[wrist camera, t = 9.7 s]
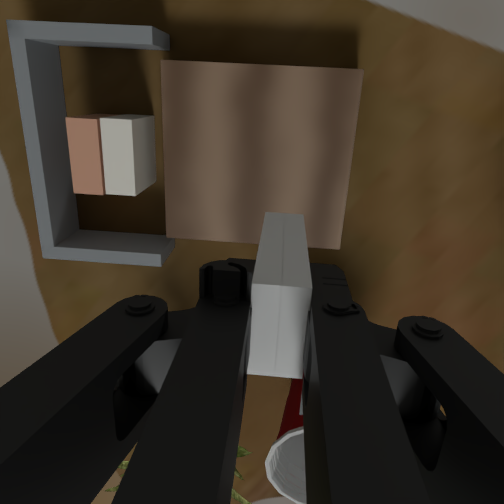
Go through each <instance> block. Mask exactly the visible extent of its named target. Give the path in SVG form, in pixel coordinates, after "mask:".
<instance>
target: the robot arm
mask: <svg viewBox="0 0 504 504" xmlns="http://www.w3.org/2000/svg"><path fill="white" fill-rule="evenodd" d="M303 368H304V377H303ZM247 374H254V375H265V376H276V377H287V378H297V379H302V377H303V386H302V395H301V404H300V413H299V415H303V429H304V453H305V478H306V502H307V504H504V374H503V373H502V372H500V371H499V370H498V369H497V368H496V367H495V366H494V365H493V364H492V363H490V362H489V361H488V360H487V359H486V358H485V357H484V356H483V355H481V354H480V353H479V352H478V351H477V350H476V349H475V348H474V347H473V346H471V345H470V344H469V343H468V342H467V341H466V340H465V339H464V338H462V337H461V336H460V335H459V334H458V333H457V332H456V331H455V330H454V329H452V328H451V327H449V326H448V325H446V324H445V323H442V322H440V321H438V320H436V319H434V318H431V317H429V318H428V317H426V316H409V317H404V318H402V319H401V320H399V322H398V326H397V330H396V329H392V328H388V327H384V326H380V325H377V324H374V323H372V322H370V321H368V319H367V317H366V314H365V311H364V310H363V308H362V307H361V306H360V305H359V304H357V303H355V302H354V301H353V300H352V297H351V294H350V291H349V287H348V284H347V281H346V278H345V275H344V272H343V271H342V270H341V269H340V268H339V267H337V266H336V265H331V264H318V263H309V256H308V248H307V240H306V232H305V224H304V216H303V214H289V213H274V212H265V217H264V222H263V227H262V233H261V238H260V243H259V248H258V253H257V258H256V260H249V259H236V258H229V259H227V260H219V261H213V262H209V263H206V264H204V265H203V266H202V267H201V268H199V300H198V303H197V305H196V307H195V308H191V309H188V310H181V311H171V312H168V307H167V303H166V302H165V301H164V300H163V299H161V298H158V297H155V296H148V295H141V296H139V295H135V296H133V297H129V298H125V299H123V300H121V301H119V302H117V303H116V304H114V305H113V306H112V307H110V308H109V309H107V310H106V311H105V312H103V313H102V314H101V315H99V316H98V317H96V318H95V319H94V320H92V321H91V322H90V323H88V324H87V325H85V326H84V327H83V328H81V329H80V330H79V331H77V332H76V333H74V334H73V335H72V336H70V337H69V338H68V339H66V340H65V341H63V342H62V343H61V344H59V345H58V346H57V347H55V348H54V349H53V350H51V351H50V352H49V353H47V354H46V355H44V356H43V357H42V358H40V359H39V360H38V361H36V362H35V363H33V364H32V365H31V366H29V367H28V368H26V369H25V370H24V371H22V372H21V373H20V374H18V375H17V376H16V377H14V378H13V379H11V380H10V381H9V382H7V383H6V384H5V385H3V386H2V387H0V504H91V502H92V501H93V500H94V498H95V497H96V496H97V494H98V493H99V492H100V490H101V489H102V488H103V487H104V485H105V484H106V483H107V481H108V480H109V479H110V477H111V476H112V474H113V473H114V472H115V471H116V469H117V468H118V467H119V465H120V464H121V463H122V461H123V460H124V459H125V457H126V456H127V455H128V453H129V452H130V451H131V449H132V448H133V447H134V446H135V444H136V443H137V442H138V443H137V445H136V447H135V450H134V452H133V454H132V457H131V459H130V461H129V464H128V466H127V468H126V471H125V473H124V475H123V478H122V480H121V482H120V485H119V487H118V489H117V492H116V494H115V496H114V499H113V501H112V503H111V504H230V501H231V494H232V486H233V479H234V472H235V465H236V458H237V450H238V443H239V436H240V429H241V422H242V414H243V407H244V400H245V393H246V385H247ZM441 405H442V407H443V408H444V411H445V414H446V416H445V415H444V414H443V413H442V412H441V410H440V406H441Z"/></svg>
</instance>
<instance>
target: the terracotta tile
mask: <svg viewBox="0 0 504 504" xmlns="http://www.w3.org/2000/svg"><path fill="white" fill-rule="evenodd" d="M110 116H117V115H115V114H98V113H97V114H89V115H81V116H73V117H65V119H66V128H67V137H68V146H69V155H70V164H71V173H72V182H73V191H74V193H79V194H93V195H104V194H106V189H105V177H104V164H103V152H102V139H101V127H100V118H103V117H110Z"/></svg>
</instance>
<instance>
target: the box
mask: <svg viewBox="0 0 504 504" xmlns="http://www.w3.org/2000/svg"><path fill="white" fill-rule="evenodd" d="M6 22H7V28H8V35H9V41H10V47H11V54H12V60H13V67H14V73H15V80H16V86H17V93H18V99H19V106H20V112H21V119H22V125H23V132H24V138H25V145H26V151H27V158H28V164H29V171H30V177H31V184H32V190H33V197H34V203H35V210H36V216H37V223H38V229H39V236H40V242H41V249H42V255H43V258H49V259H62V260H76V261H90V262H103V263H117V264H131V265H144V266H158V267H161V266H162V265H163V263H164V262H165V260H166V259H167V258H168V256H169V255H170V253H171V252H172V250H173V249H174V248H175V238H167V237H166V235H153V234H139V233H124V232H110V231H96V230H81V229H79V220H78V211H77V202H76V194H75V193H74V191H73V182H72V173H71V164H70V155H69V146H68V137H67V128H66V119H65V117H67V115H66V107H65V98H64V89H63V81H62V72H61V63H60V55H59V46H58V45H60V46H82V47H104V48H125V49H147V50H169V51H170V35H169V34H167V33H165V32H163V31H161V30H159V29H157V28H155V27H153V26H140V25H116V24H93V23H70V22H47V21H24V20H6Z"/></svg>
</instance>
